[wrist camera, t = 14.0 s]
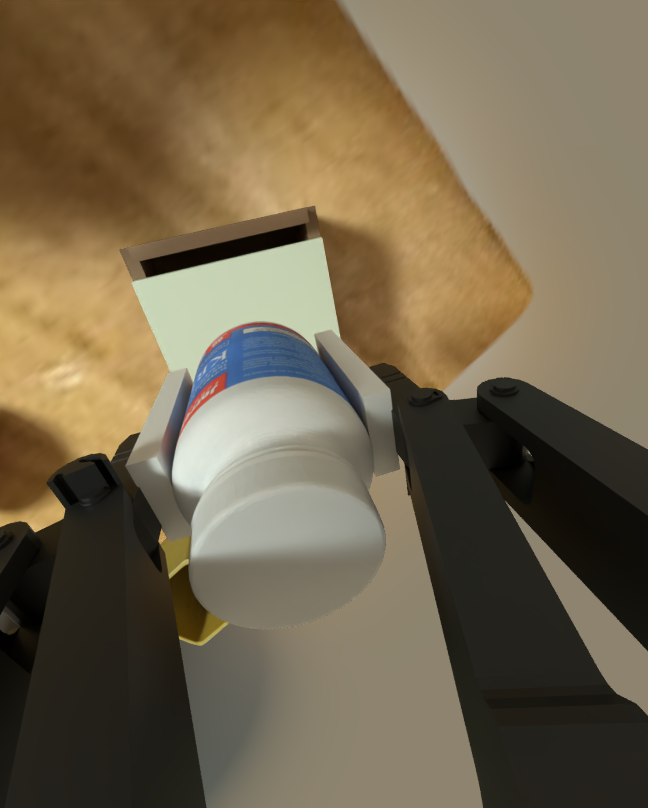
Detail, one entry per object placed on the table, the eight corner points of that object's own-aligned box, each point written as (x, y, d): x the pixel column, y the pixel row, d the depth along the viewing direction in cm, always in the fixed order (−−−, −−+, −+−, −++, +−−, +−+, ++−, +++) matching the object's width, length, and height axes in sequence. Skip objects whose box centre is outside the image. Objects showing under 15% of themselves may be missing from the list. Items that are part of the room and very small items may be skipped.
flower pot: (258, 526, 42) (264, 596, 34) (206, 571, 43) (200, 648, 35) (197, 488, 37) (188, 558, 30) (142, 539, 39) (118, 619, 31)
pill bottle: (204, 306, 14) (156, 425, 5) (334, 332, 15) (462, 457, 7) (189, 429, 16) (138, 662, 7) (306, 440, 17) (377, 642, 9)
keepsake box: (145, 245, 27) (112, 250, 20) (297, 211, 28) (319, 204, 21) (208, 403, 34) (202, 452, 26) (329, 370, 35) (355, 407, 28)
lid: (134, 280, 22) (119, 288, 19) (319, 237, 23) (331, 238, 20) (207, 448, 28) (204, 474, 25) (350, 406, 29) (364, 426, 26)
